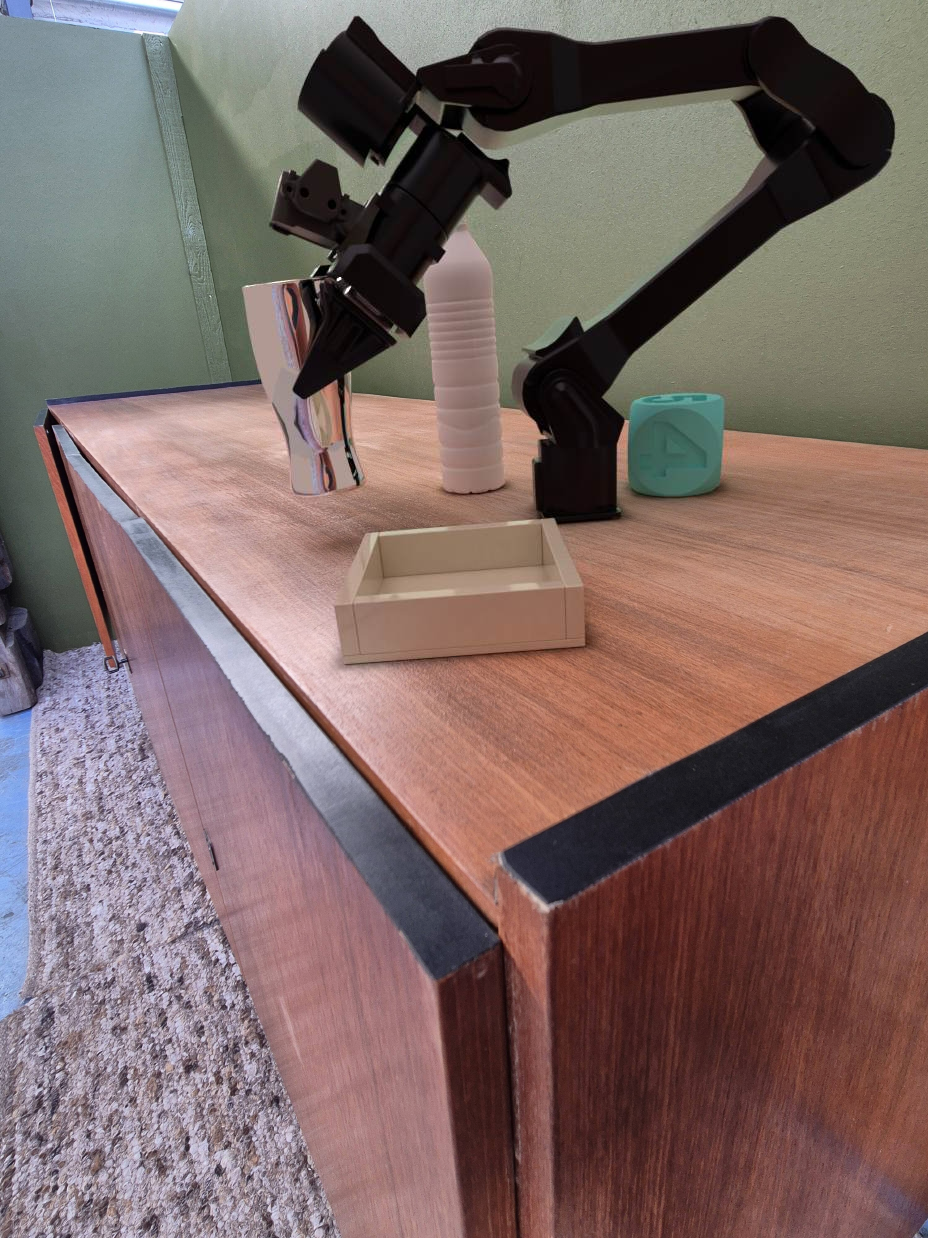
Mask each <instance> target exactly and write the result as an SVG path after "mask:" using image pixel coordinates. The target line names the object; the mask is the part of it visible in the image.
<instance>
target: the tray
mask: <svg viewBox="0 0 928 1238" xmlns="http://www.w3.org/2000/svg"><path fill="white" fill-rule="evenodd" d="M557 523H558V522H556V521H555V519H554V518H549V519H543V518H535V519H525V520H511V521H499V522H488V523H477V524H476V523H475V524H462V525H450V526H438V527H424V528H414V529H413V528H412V529H403V530H402V529H400V530H388V531H380V532H379V531H377V532H376V531H375V532H366V533H364V536H363V538H362V540H361V542H360V545H359V547H358V550H357V551H356V554H355V556H354V558H353V561H352V563H351V565H350V567H349V570H348V572H347V574H346V577H345V579H344V581H343V584H342V585H341V588H340V590H339V593H338V595H337V597H336V599H335V602H334V604H333V609H334V616H335V620H336V627H337V633H338V639H339V644H340V650H341V656H342V662H343V664H344V665H352V664H353V665H354V664H365V663H379V662H391V661H392V662H393V661H406V660H418V659H434V658H444V657H458V656H459V657H460V656H472V655H473V656H474V655H486V654H498V653H511V652H513V653H514V652H525V651H526V652H527V651H539V650H552V649H565V648H566V649H567V648H578V647H579V648H581V647H585V646H586V623H585V622H586V617H585V616H586V615H585V614H586V613H585V585H584V583H583V581H582V579H581V576H580V574H579V571H578V569H577V567H576V565H575V562H574V560H573V558H572V555H571V553H570V551H569V549H568V546H567V544H566V541H565V539H564V537H563V534H562V532H561V530H560V528H559V525H558V524H557Z"/></svg>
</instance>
